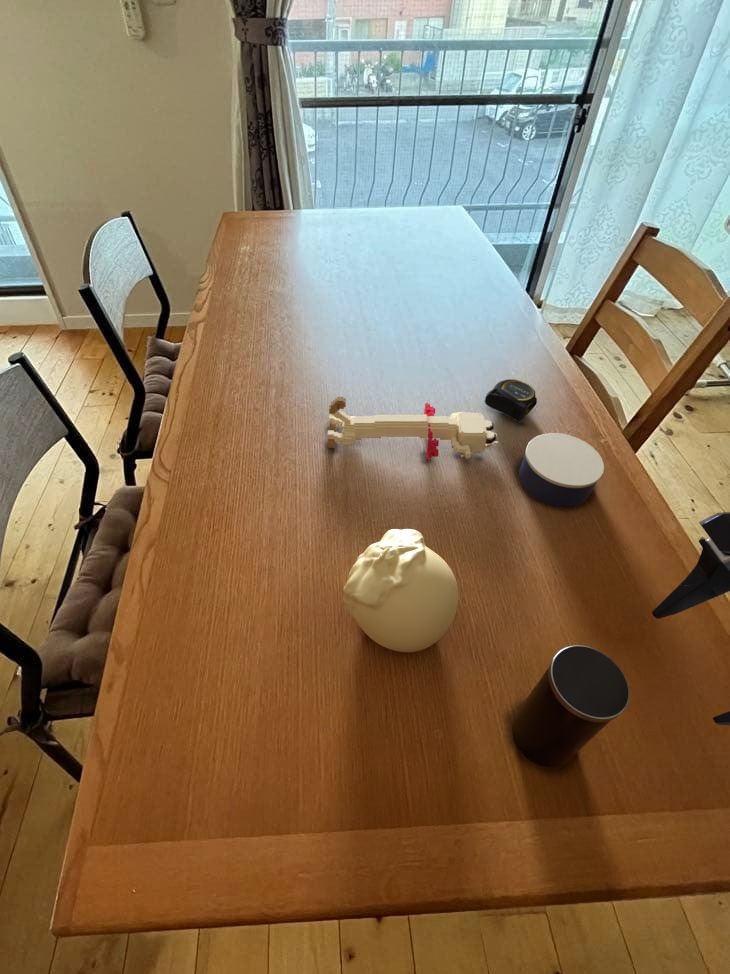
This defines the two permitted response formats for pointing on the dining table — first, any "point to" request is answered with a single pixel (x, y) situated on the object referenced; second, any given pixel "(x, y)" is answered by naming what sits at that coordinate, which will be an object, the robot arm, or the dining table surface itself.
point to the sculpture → (402, 592)
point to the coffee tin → (560, 469)
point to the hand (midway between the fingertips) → (682, 665)
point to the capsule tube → (569, 705)
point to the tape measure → (512, 398)
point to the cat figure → (414, 428)
